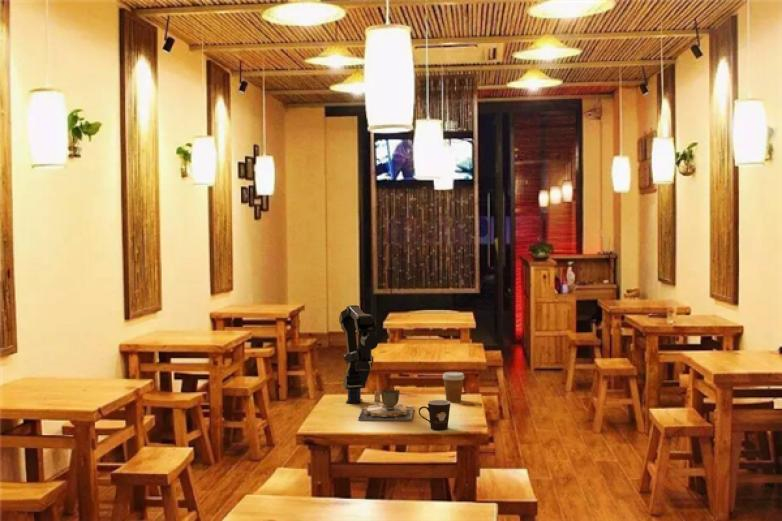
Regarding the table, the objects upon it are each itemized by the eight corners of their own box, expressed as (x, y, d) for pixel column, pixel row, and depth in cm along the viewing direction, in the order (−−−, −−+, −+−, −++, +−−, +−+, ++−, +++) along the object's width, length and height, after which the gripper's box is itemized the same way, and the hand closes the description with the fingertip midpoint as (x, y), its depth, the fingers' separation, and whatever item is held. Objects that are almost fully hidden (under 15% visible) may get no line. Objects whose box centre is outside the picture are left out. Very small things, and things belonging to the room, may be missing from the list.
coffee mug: (452, 426, 325) (452, 400, 325) (448, 431, 317) (448, 405, 316) (422, 424, 328) (422, 399, 327) (418, 430, 319) (417, 404, 319)
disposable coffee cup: (446, 403, 364) (446, 376, 363) (439, 399, 373) (439, 372, 372) (467, 402, 366) (467, 375, 365) (460, 398, 375) (460, 371, 375)
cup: (397, 412, 336) (397, 392, 336) (379, 411, 338) (379, 391, 337) (400, 408, 344) (401, 388, 343) (382, 407, 345) (383, 387, 345)
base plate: (363, 408, 356) (363, 405, 356) (414, 409, 354) (413, 406, 354) (358, 420, 335) (358, 417, 335) (411, 421, 333) (411, 418, 333)
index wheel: (352, 411, 346) (351, 395, 346) (385, 404, 359) (385, 389, 359) (385, 420, 331) (385, 403, 331) (419, 412, 344) (419, 396, 344)
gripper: (347, 341, 360) (347, 377, 362) (342, 349, 342) (342, 387, 343) (373, 341, 360) (373, 377, 361) (370, 349, 341) (370, 387, 343)
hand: (364, 382), depth 352 cm, fingers open, 9 cm apart
